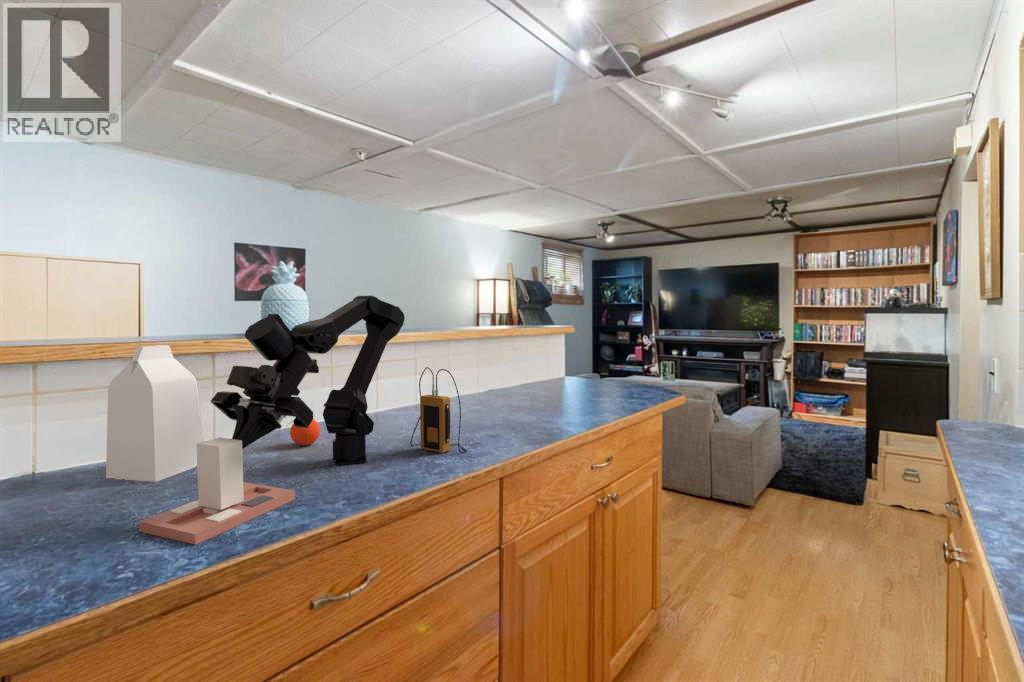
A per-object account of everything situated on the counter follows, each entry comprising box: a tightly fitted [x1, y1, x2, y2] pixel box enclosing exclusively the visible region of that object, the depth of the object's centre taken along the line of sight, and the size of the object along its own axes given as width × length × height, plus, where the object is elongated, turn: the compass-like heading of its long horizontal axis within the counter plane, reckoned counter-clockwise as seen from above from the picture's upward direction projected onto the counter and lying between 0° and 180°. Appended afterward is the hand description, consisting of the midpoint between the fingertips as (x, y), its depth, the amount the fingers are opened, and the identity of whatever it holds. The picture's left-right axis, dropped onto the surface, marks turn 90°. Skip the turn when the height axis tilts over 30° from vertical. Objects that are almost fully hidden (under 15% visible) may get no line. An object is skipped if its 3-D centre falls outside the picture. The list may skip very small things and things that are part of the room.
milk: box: [105, 344, 204, 483], centre depth 99 cm, size 12×12×26 cm
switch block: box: [138, 481, 296, 546], centre depth 78 cm, size 18×12×2 cm, turn 159°
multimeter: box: [410, 366, 468, 454], centre depth 117 cm, size 15×10×20 cm
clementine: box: [286, 418, 321, 447], centre depth 119 cm, size 8×7×7 cm
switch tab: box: [197, 437, 244, 514], centre depth 77 cm, size 4×5×11 cm
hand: (232, 451), depth 79 cm, fingers closed, pressing on switch tab
